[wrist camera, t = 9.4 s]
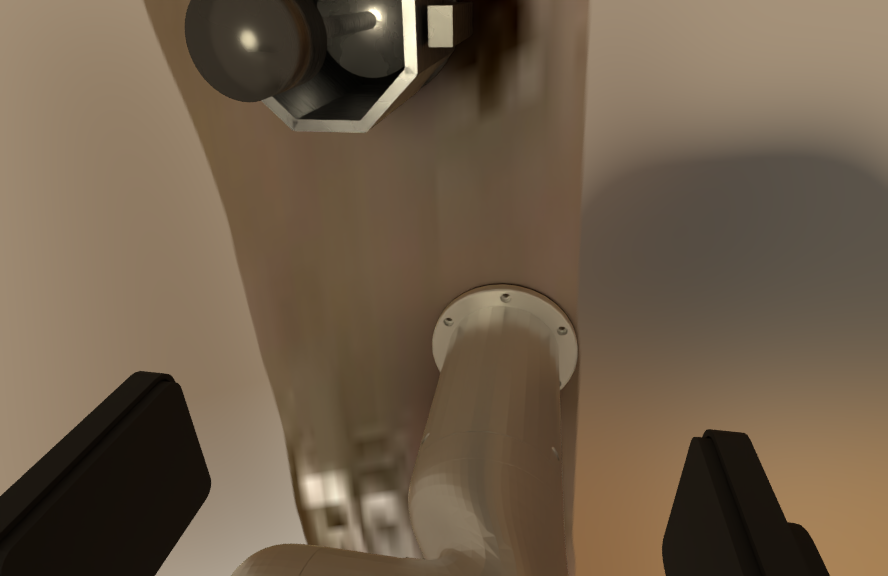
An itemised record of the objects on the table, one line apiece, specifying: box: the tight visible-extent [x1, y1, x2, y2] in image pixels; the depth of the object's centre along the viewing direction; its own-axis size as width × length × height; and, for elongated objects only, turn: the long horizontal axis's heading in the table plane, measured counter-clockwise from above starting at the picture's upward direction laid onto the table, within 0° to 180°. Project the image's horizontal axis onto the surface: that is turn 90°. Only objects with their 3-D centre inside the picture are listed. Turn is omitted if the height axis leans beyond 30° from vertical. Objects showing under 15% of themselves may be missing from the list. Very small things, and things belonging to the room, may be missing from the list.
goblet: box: [185, 0, 405, 102], centre depth 26 cm, size 7×7×16 cm
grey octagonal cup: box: [261, 0, 473, 133], centre depth 31 cm, size 10×11×12 cm
